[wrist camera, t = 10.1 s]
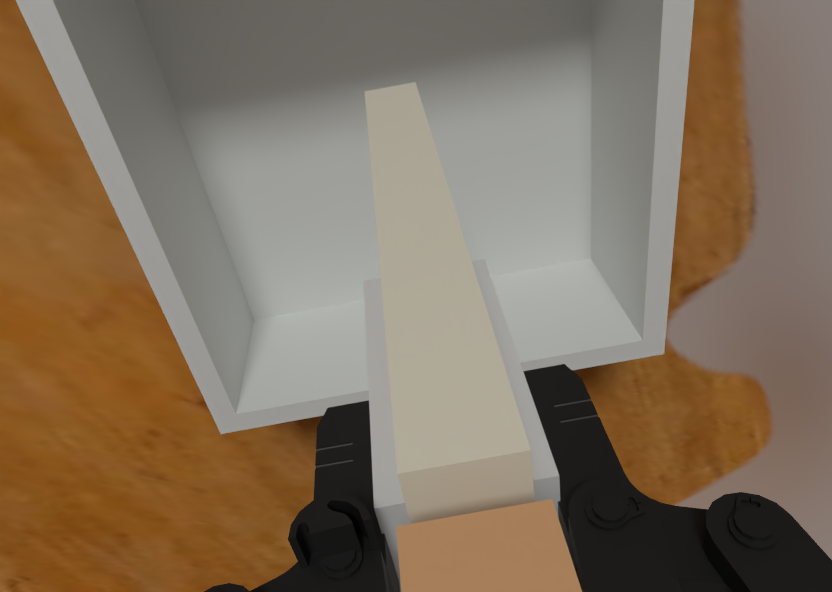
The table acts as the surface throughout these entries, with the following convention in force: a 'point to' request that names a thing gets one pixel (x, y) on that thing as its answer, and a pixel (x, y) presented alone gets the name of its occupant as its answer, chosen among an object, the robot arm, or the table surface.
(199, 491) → the table surface
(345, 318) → the bin
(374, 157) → the cream flat board
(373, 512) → the robot arm
